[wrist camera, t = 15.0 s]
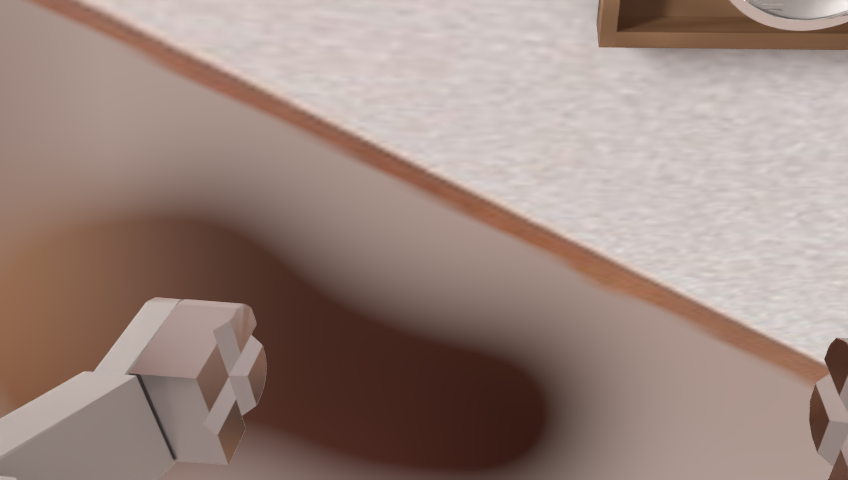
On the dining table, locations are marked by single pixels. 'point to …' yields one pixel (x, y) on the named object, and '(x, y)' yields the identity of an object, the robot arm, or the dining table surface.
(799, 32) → the walnut tray
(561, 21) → the dining table surface
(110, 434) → the robot arm
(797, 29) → the beer glass
